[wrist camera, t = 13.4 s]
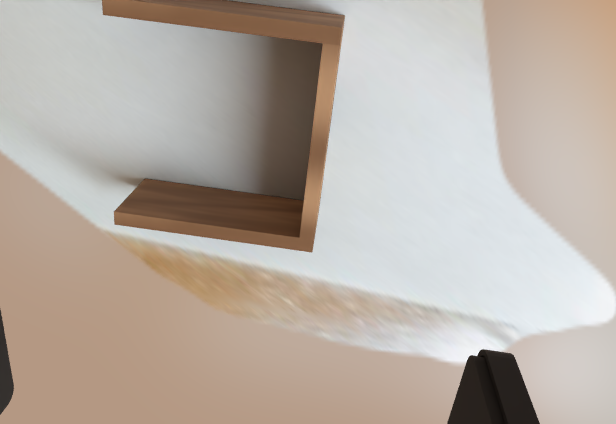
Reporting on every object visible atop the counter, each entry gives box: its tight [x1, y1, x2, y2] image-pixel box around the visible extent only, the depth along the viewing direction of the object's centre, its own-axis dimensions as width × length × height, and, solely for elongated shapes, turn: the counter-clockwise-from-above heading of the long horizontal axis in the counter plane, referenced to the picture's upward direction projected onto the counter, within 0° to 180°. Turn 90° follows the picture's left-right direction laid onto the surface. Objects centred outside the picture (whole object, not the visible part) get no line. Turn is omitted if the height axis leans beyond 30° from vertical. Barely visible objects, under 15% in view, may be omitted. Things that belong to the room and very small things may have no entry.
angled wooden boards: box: [102, 0, 345, 252], centre depth 37 cm, size 15×14×6 cm
